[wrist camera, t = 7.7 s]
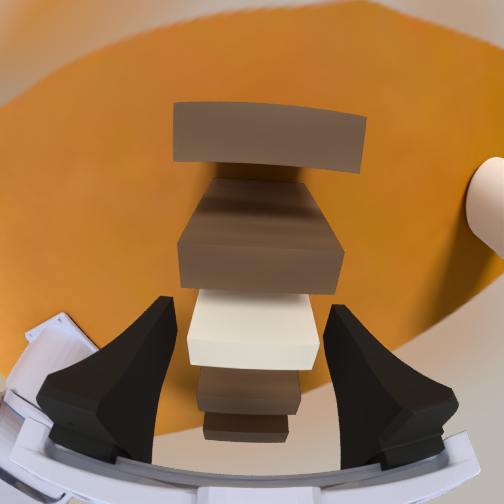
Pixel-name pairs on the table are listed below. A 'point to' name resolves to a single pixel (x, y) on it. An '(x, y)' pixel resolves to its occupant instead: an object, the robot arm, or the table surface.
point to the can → (487, 204)
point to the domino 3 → (253, 331)
